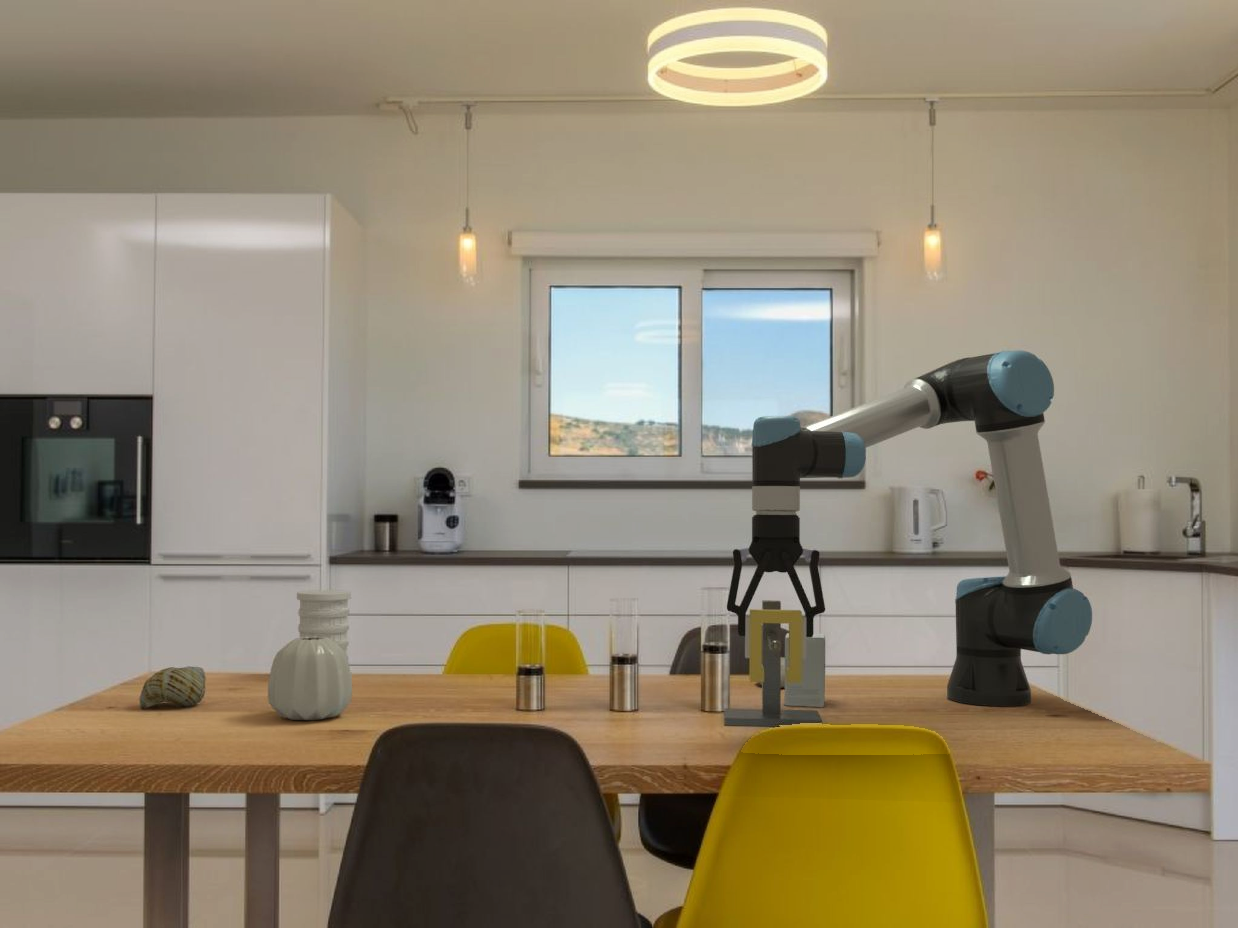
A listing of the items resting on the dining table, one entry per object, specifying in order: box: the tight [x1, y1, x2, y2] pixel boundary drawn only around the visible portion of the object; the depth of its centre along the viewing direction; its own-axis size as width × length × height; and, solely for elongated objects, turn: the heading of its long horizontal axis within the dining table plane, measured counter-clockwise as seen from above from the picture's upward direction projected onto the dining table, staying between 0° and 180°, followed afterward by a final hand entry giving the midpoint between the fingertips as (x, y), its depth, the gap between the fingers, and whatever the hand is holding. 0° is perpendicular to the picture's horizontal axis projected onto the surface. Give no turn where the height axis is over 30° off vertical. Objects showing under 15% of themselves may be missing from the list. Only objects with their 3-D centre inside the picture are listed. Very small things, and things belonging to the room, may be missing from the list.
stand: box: [723, 599, 823, 727], centre depth 189 cm, size 16×16×20 cm
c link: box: [748, 608, 803, 683], centre depth 180 cm, size 8×4×11 cm, turn 85°
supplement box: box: [783, 632, 826, 708], centre depth 210 cm, size 7×7×13 cm
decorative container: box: [296, 589, 352, 677], centre depth 234 cm, size 12×12×18 cm
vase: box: [267, 637, 353, 721], centre depth 193 cm, size 14×14×13 cm
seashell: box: [139, 665, 206, 709], centre depth 202 cm, size 10×10×10 cm
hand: (775, 657), depth 180 cm, fingers closed on c link, 8 cm apart
